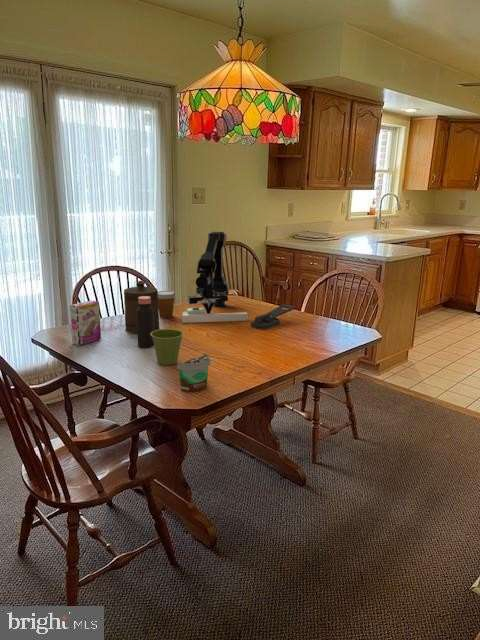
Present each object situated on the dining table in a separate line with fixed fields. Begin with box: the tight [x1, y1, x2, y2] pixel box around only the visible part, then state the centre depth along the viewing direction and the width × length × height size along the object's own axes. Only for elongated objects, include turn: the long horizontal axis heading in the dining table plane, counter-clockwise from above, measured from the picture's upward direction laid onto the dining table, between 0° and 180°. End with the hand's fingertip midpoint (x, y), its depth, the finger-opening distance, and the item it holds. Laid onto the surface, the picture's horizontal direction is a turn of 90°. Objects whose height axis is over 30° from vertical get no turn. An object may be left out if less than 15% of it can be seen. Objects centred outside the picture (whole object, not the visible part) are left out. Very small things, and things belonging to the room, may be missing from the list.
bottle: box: [136, 296, 155, 349], centre depth 192 cm, size 7×7×20 cm
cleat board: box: [182, 311, 249, 324], centre depth 234 cm, size 9×31×4 cm, turn 100°
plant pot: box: [150, 328, 184, 366], centre depth 176 cm, size 12×12×11 cm
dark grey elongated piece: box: [250, 304, 296, 330], centre depth 228 cm, size 9×7×25 cm
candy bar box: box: [69, 299, 102, 346], centre depth 196 cm, size 11×5×16 cm, turn 145°
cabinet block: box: [186, 307, 206, 314], centre depth 232 cm, size 6×8×6 cm
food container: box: [176, 352, 212, 393], centre depth 154 cm, size 12×6×10 cm, turn 138°
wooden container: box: [123, 280, 160, 335], centre depth 213 cm, size 15×15×22 cm
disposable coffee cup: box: [158, 290, 176, 319], centre depth 236 cm, size 10×10×12 cm
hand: (208, 315), depth 233 cm, fingers closed
